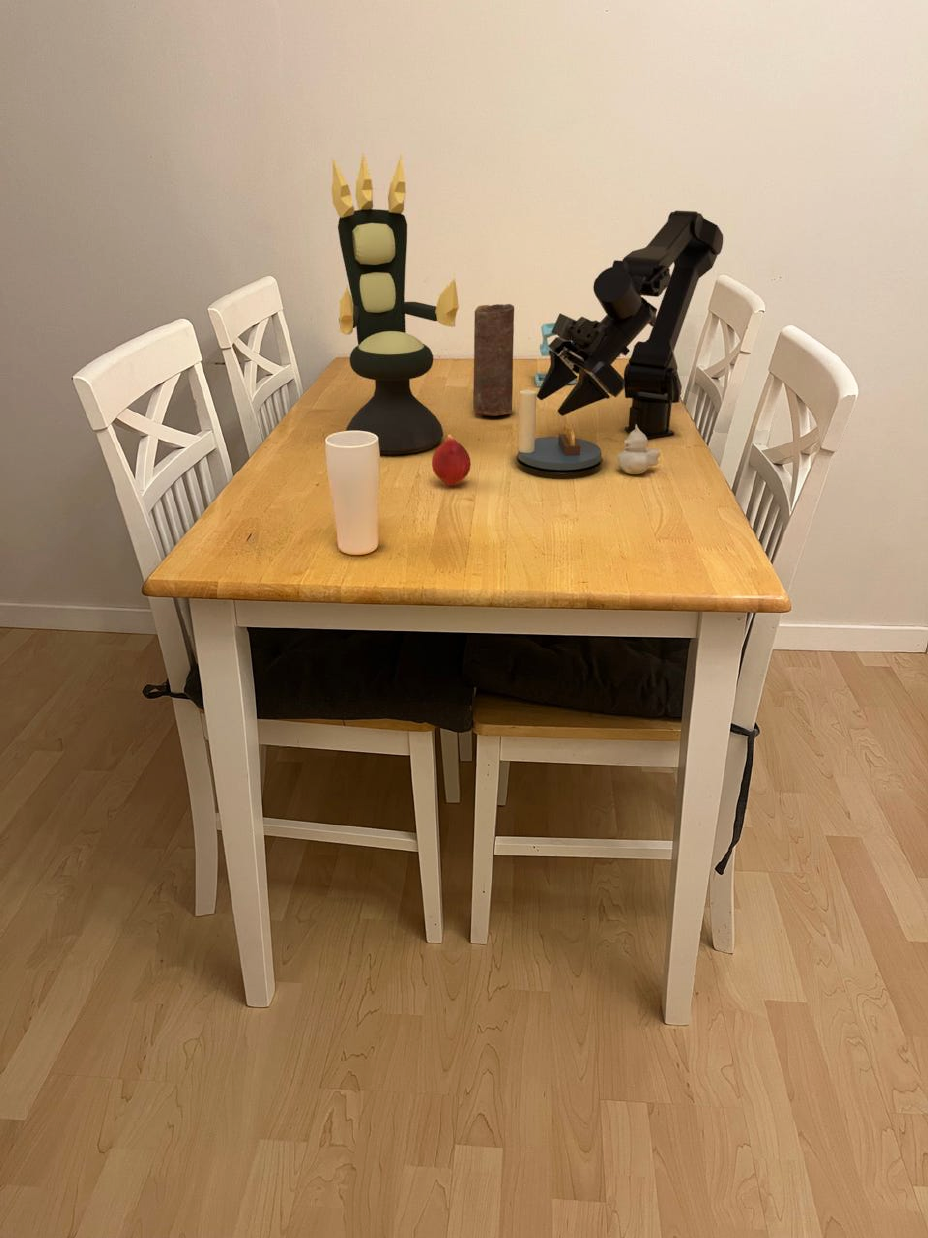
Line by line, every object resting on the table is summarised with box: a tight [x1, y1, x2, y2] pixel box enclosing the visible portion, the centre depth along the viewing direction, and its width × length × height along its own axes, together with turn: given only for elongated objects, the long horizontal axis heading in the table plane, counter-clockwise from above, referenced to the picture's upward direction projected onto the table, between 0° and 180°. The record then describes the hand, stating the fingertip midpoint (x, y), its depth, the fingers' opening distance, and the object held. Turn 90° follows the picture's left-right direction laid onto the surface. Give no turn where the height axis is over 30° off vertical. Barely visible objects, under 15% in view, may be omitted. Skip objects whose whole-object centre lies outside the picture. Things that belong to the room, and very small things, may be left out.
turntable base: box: [515, 454, 604, 480], centre depth 156 cm, size 14×14×1 cm
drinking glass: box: [324, 430, 381, 556], centre depth 123 cm, size 7×7×15 cm
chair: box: [534, 322, 576, 388], centre depth 199 cm, size 8×8×12 cm
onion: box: [431, 434, 471, 487], centre depth 146 cm, size 6×6×8 cm
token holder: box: [517, 389, 602, 470], centre depth 153 cm, size 13×13×11 cm
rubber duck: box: [617, 425, 661, 475], centre depth 151 cm, size 5×7×8 cm
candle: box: [472, 303, 515, 417], centre depth 176 cm, size 8×7×20 cm
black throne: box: [330, 152, 460, 456], centre depth 157 cm, size 19×22×45 cm
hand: (548, 405), depth 153 cm, fingers open, 9 cm apart
